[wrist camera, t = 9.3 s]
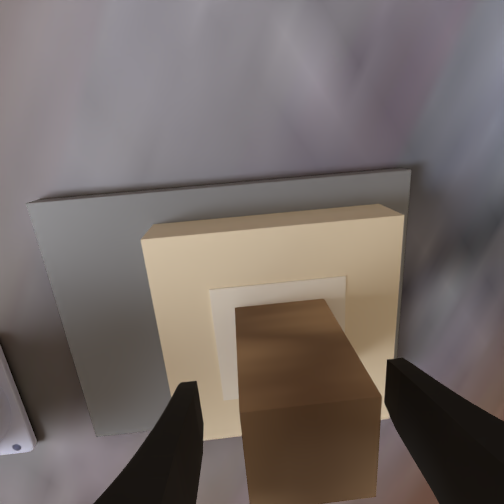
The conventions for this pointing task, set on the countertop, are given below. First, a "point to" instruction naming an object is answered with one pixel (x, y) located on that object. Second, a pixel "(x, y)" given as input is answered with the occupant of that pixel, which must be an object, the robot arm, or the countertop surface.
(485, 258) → the countertop surface
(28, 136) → the countertop surface
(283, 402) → the walnut block
